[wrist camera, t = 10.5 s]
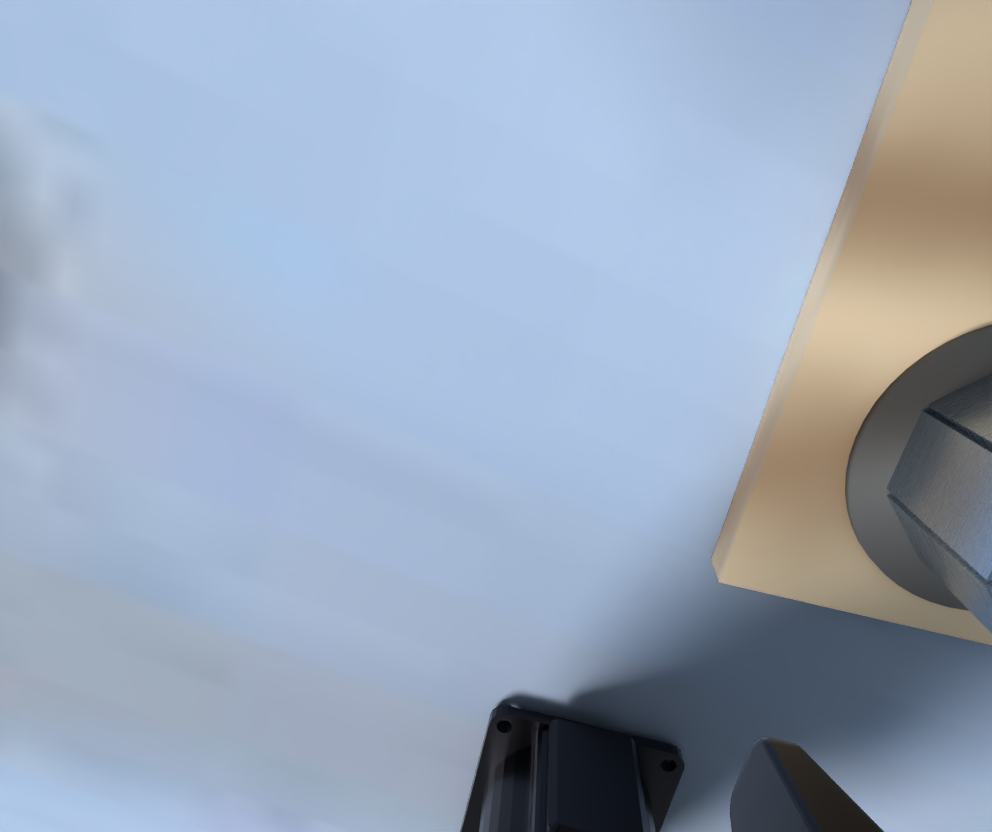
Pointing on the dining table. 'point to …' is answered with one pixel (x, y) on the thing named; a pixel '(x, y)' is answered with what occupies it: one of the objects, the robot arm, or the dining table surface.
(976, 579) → the cap
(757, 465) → the board
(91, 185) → the dining table surface
